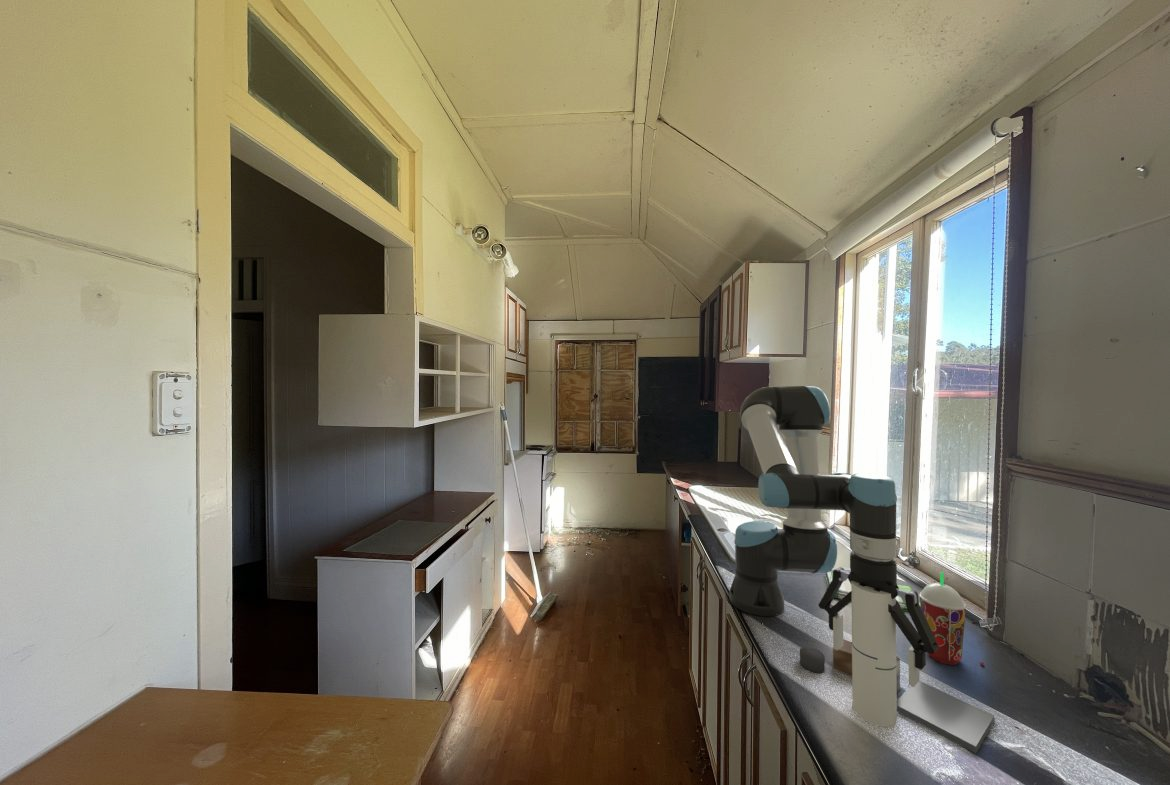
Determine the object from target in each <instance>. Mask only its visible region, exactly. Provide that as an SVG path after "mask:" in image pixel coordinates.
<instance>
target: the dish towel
mask: <svg viewBox="0 0 1170 785" xmlns="http://www.w3.org/2000/svg"><path fill="white" fill-rule="evenodd" d="M825 580H826V584H827V586H828V587H829V585H830V583H831V581H832V580H833V571H832V570H831V571H830V572H828V573H825ZM897 586H898V587H899V589H902V590H906V591H911V590H913V589H912V588H911V587H910V586H908V585H900V584H897ZM828 587H827V588H828ZM850 591H851V583H850V581H849V580H848V579H847V580H845V581H843V583H842V585H841V586H840V588H839V590H838V592H837V593H836V595H835V597H834V599H839V600H841V599H842V598H843V597H845V596H846V595H847V594H848V593H849V592H850ZM896 600H897V601H898V603H899V604H900V607H901V609H902V611H903V612H907V613H909V612H908V610H907V607H906V603H904V602H903V601H902V598H901V597H900V596H897V597H896ZM919 605H920V602H919Z"/></svg>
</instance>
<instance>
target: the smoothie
mask: <svg viewBox="0 0 1170 785" xmlns="http://www.w3.org/2000/svg"><path fill="white" fill-rule="evenodd" d="M944 576H945V575H944V572H943V571H940V572H939V582H932V583H929V584H927V585H925V586H924V588H922V590H921V591H920V592H919V593H918V597H919V603H920V607H921V609H922V612H923V614H924V616H925V618H926V620H927V622H928V624H929V626H930V628H931V631H932V633H933V635H934V637H935V639H936V641H937V643H938V645H939V648H938V649H937V650H936V652H935V653H933V654H930V653H928V652H926V653H927V654H926V655H927V656H929V657H930V658H931V659H933V660H935V661H936V662H939V663H942V664H945V665H950V666H951V665H953V666H954V665H958V664H959V662H960V661H961V660H962V658H963V647H964V634H965V622H966V611H967V610H966V607H967V604H966V602H965V601H964V600H963V598H962V596H961V595H960V594H959V592H958V591H957V590H956V589H954V588H953V587H951V586H950V585H949V584H945V583H944V582H945V581H944Z"/></svg>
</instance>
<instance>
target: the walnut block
mask: <svg viewBox="0 0 1170 785" xmlns="http://www.w3.org/2000/svg"><path fill="white" fill-rule="evenodd" d="M832 662H833V663H832V664H833V666H832V668H833V670H835V671H838V672H840V673H843V674H846V675H849V676H851V677H852V641H850V640H846V639H844V638H843V647H841V648H840V649H839V650H835V649H833V648H832Z"/></svg>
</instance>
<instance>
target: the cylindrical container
mask: <svg viewBox="0 0 1170 785" xmlns="http://www.w3.org/2000/svg"><path fill="white" fill-rule="evenodd" d="M851 591H852V602H851V642H852V676H851V677H852V678H851V679H852V684H851V685H852V690H851V691H852V693H851V694H852V698H851V700H852V709H853V711H854V712H855V714H856V715H857V716H859V717H860V718H861V719H862V720H864V721H866V722H867V723H869V724H871V725H873V726H877V727H882V728H892V727H894V726H896V725H897V723H898V712H897V701H898V698H897V697H898V696H897V693H898V692H897V677H896V656H897V624H896V622H895V621H894V619H893V618H892V616H891V613H889V612H888V604H890V605H891V606H894V605H895V604H896V597H895V598H894V599H892V598H891V594H889V593H887V592H884V591H880V592H878V591H875V590H874V588H872V587H869V586H864V587H863V586H861V585H859V583H857V582H854V581H851Z"/></svg>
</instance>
